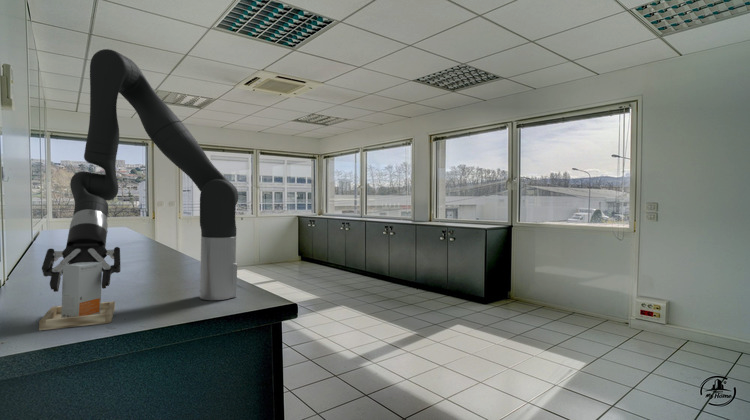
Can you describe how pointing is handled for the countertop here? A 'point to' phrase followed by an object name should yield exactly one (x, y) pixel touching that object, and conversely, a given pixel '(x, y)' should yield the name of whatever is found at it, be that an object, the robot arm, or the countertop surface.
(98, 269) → the skincare box
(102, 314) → the holder
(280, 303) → the countertop surface
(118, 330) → the countertop surface
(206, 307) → the countertop surface
